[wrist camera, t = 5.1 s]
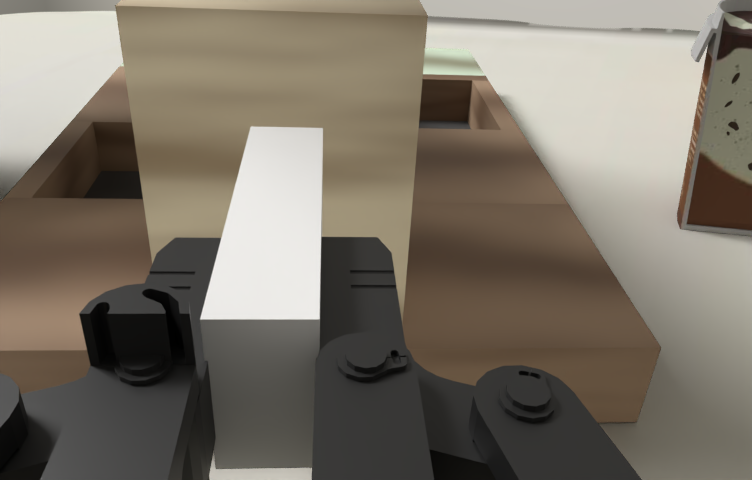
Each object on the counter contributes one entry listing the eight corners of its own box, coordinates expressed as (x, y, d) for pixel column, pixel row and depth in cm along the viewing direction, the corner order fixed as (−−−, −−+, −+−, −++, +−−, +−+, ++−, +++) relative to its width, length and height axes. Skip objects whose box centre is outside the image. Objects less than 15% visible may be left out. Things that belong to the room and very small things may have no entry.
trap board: (636, 422, 22) (661, 347, 20) (-97, 431, 20) (-132, 351, 18) (463, 91, 49) (468, 49, 48) (148, 83, 47) (143, 39, 46)
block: (402, 326, 20) (427, 15, 16) (161, 327, 20) (115, 5, 15) (380, 179, 29) (392, -50, 24) (211, 177, 28) (191, -58, 24)
